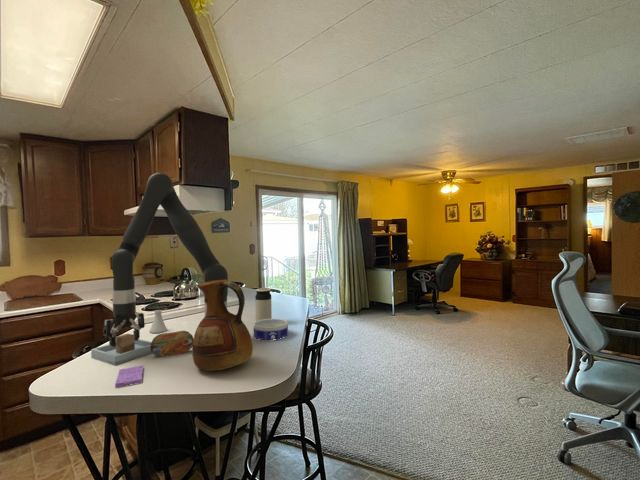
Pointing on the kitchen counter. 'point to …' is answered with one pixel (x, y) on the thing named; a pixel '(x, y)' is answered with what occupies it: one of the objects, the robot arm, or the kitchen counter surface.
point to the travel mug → (263, 304)
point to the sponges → (129, 376)
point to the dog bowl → (270, 329)
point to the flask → (158, 323)
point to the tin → (171, 343)
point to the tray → (115, 358)
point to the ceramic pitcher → (221, 330)
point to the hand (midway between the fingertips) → (125, 343)
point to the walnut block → (125, 343)
